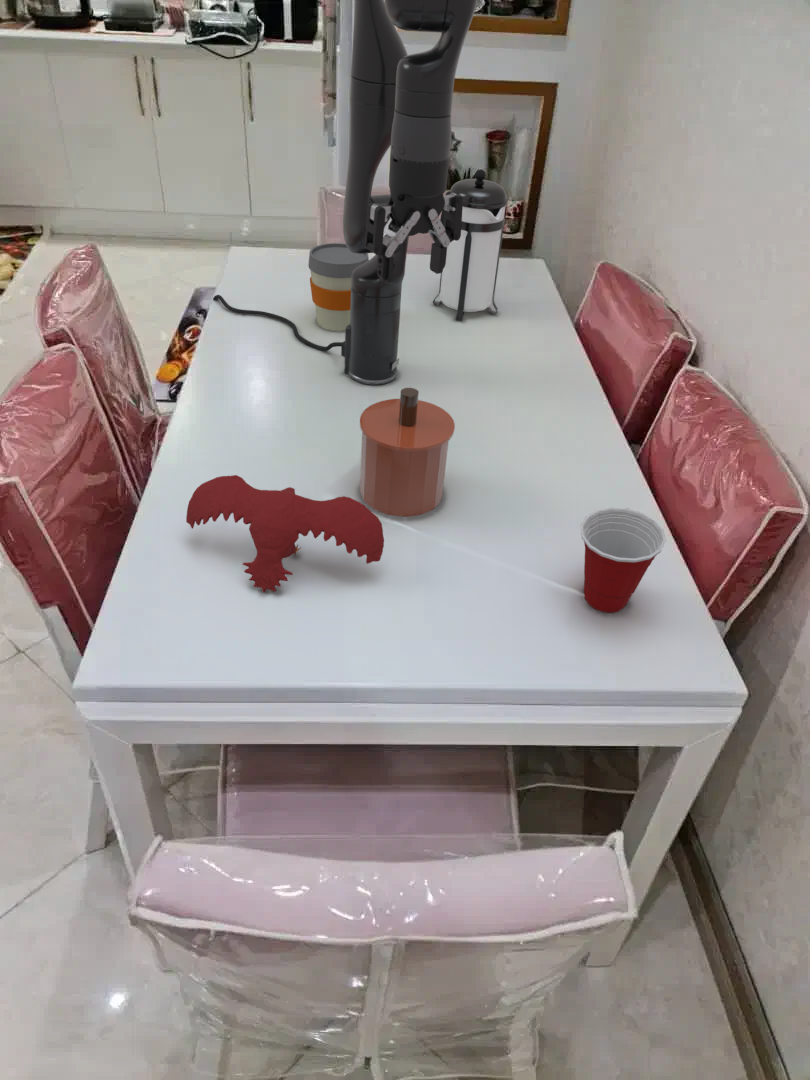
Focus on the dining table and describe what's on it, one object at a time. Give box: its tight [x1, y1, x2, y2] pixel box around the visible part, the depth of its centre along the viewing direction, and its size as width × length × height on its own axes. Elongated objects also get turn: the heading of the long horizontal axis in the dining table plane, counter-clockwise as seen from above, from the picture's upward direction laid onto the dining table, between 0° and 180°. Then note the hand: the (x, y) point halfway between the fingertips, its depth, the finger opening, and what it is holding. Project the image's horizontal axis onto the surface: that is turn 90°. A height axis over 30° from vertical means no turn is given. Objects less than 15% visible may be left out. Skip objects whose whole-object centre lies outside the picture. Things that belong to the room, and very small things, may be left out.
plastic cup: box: [579, 507, 667, 614], centre depth 107 cm, size 11×11×12 cm
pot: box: [359, 431, 449, 518], centre depth 123 cm, size 13×13×12 cm
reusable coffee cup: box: [307, 242, 370, 333], centre depth 170 cm, size 13×13×15 cm
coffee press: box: [432, 168, 509, 322], centre depth 176 cm, size 17×16×30 cm
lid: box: [359, 387, 456, 451], centre depth 118 cm, size 14×14×6 cm
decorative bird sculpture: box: [185, 474, 385, 594], centre depth 110 cm, size 28×9×15 cm
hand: (411, 276), depth 113 cm, fingers open, 8 cm apart
